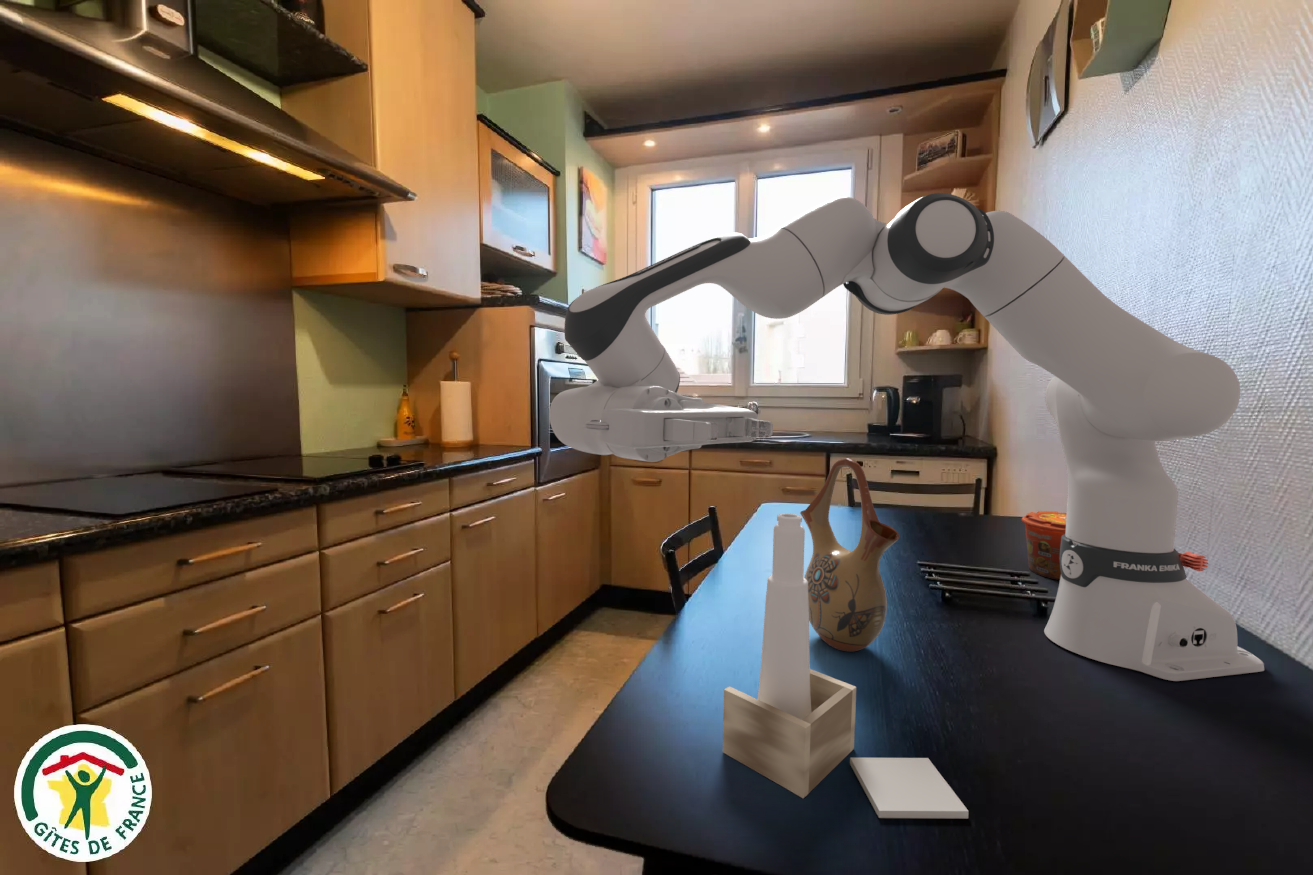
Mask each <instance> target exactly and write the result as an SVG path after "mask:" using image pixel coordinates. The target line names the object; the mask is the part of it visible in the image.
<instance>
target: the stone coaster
mask: <svg viewBox="0 0 1313 875" xmlns="http://www.w3.org/2000/svg"><path fill="white" fill-rule="evenodd" d="M849 765H850V766H851V769H852V770H853V773H854V774H855V776H856V778H857V780H858V781H859V783H860V786H861V787H862V789H863V791H864V793H865V794H866V796H867V798H868V800H869V802H870V803H871V806H872V808H873V810H874V811H875V814H876V815H877V817H878V818H879V819H969V810H968V809H967V807H966V806H965V805H964V803H963V801H961V799H960V798H959V796H958V795H957V794H956V793H955V791H954V790H953V788H952V787H951V786H950V784H948V781H946V780H945V779H944V777H943V776H942V774H941V773H940V771H938V769H937V768H936V766H935V765H934V764H933V763H932V761H931V760H930V759H929V757H850V758H849Z"/></svg>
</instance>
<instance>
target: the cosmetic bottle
mask: <svg viewBox="0 0 1313 875" xmlns="http://www.w3.org/2000/svg"><path fill="white" fill-rule="evenodd" d="M776 520H777V524H775V525H774V526H773V538H772V542H773V543H772V572H771V575H770V576H768V577H767V583H766V595H765V602H764V603H765V606H764V617H763V618H764V619H763V633H762V646H761V657H760V658H761V661H760V673H759V681H758V682H759V684H758V691H757V692H758V693H757V699H758V700H760V701H762V702H764V703H766V704H769V705H771V706H773V707H775V708H777V709H779V710H782V711H784V712H786V713H788V714H790V715H792V716H794V717H797V718H799V719H801V720H803V719H804V718H805V717H806V716H808V715H809V714H810V713H812V711H811V695H810V669H811V667H810V666H811V665H810V664H811V663H810V621H809V601H808V581H807V580H806V579H805V578H804V577H805V576H804V573H805V572H804V568H805V566H804V565H805V541H806V540H805V539H806V538H805V536H806V535H805V534H806V531H805V528H804V526H802V525H801V523H802V522H803V517H802V516H801V515H799V514H796V513H780V514H777V516H776Z"/></svg>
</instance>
